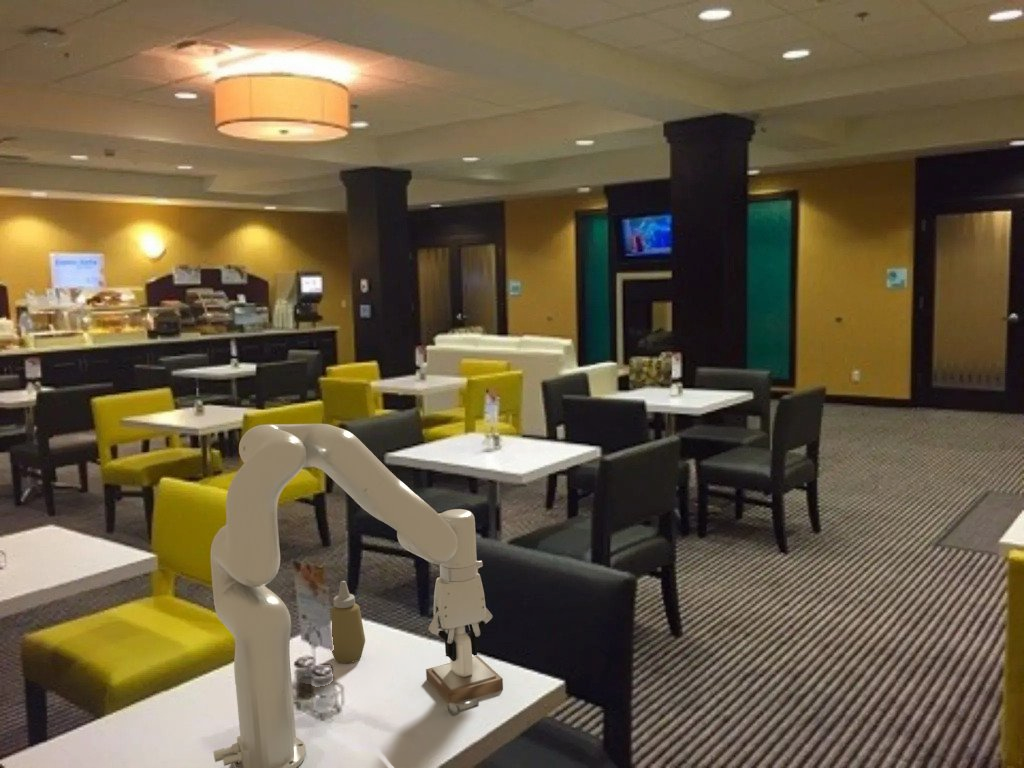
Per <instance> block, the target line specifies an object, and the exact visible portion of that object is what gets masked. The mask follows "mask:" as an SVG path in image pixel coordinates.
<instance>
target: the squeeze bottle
mask: <svg viewBox="0 0 1024 768" xmlns="http://www.w3.org/2000/svg"><path fill="white" fill-rule="evenodd" d="M339 583H340V584H339V589H338V595H336V596H334V597H333V606H332V607H331V608H330V611H329V614H330V613H331V620H332V637H333V645H334V650H333V651H332V652H331V654H332V656H333V658H334V660H335V662H336V663H339V664H350V663H353V662H356V661H359V660H360V659H361V658H362V655H363V651H364V647H365V644H366V636H365V631H364V625H363V619H362V614H361V607H360V605H359V604H357V603H356V596H355V595H354V594H352V593H350V590H349V588H348V585H347V582H346V581H345V580H341V581H340V582H339Z"/></svg>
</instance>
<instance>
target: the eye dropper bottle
mask: <svg viewBox="0 0 1024 768" xmlns="http://www.w3.org/2000/svg"><path fill="white" fill-rule="evenodd" d="M467 634H468V632H466V626H462V627H457V628H455V630H454V637H453V641H454V642H455V643H456V661H452V660H451V659H450V658H449V659H450V663H451V669H452V671H453V673H455V674H456V675H458V676H462V677H467V676H469V675H472V674H473V662H472V657H473V654H472V648H471V640H470V637H469V636H468V635H467Z"/></svg>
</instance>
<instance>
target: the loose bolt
mask: <svg viewBox="0 0 1024 768" xmlns="http://www.w3.org/2000/svg"><path fill="white" fill-rule="evenodd" d="M479 705H480V704H479V700H478V699H477V698H472V699H469V700H466V701H462V702H459V703H455V702H451V703H447V706H446V707H447V711H448V712H449V713H450V715H452V716H457V715H458V714H459V712H463V711H466V710H468V709H471V708H474V707H475V708H476V707H478V706H479Z"/></svg>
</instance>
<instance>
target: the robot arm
mask: <svg viewBox="0 0 1024 768" xmlns="http://www.w3.org/2000/svg"><path fill="white" fill-rule="evenodd" d="M238 453H239V456H240V459H241V460H242V462H243V464H242V465H241V466H240V468H239V469H238V470H237V472H236V473H235V474H234V477H233V478H232V479H231V481H230V484H229V486H228V489H227V493H226V500H225V513H226V523H225V525H223V526H222V527H220V528H219V529H218V531H217V533H216V534H215V535H214V537H213V539H212V543H211V547H210V556H209V557H210V567H211V569H210V571H211V583H212V594H213V595H212V596H213V604H214V605H213V606H214V610H215V613H216V615H217V617H218V618H217V619H218V620H219V621H220V622H221V623H222V624H223V626H225V627H226V629H227V631H229V632H230V633H231V634H232V635H233V639H234V642H235V643H234V645H235V650H234V660H233V661H234V662H233V669H234V684H235V691H236V692H235V693H236V700H237V701H236V703H237V712H238V713H237V714H238V723H239V725H238V726H239V736H237V737H236V742H234V743H231V746H228V747H223V748H219V749H216V750H213V751H212V752H213V759H214V763H218V762H221V761H223V766H225V767H226V766H230V765H232V764H233V768H298V767H299V766H300V765H301V764H302V763H303V762H304V760H305V759H306V755H307V748H306V744H305V742H304V741H303V740H302V739H300V738H299V737H297V733H296V732H297V731H296V721H295V720H296V718H295V708H294V706H295V705H294V695H293V683H292V672H291V670H292V669H291V658H290V656H291V655H290V651H291V650H290V647H291V646H290V644H291V632H292V620H291V619H292V618H291V615H290V611H289V609H288V607H287V606H286V604H285V602H284V601H283V600H282V599H281V598H280V597H279V596H278V594H276V593H275V592H273V591H272V590H271V589H270V588H268V587H267V586H266V585H268V584H270V583H271V582H272V581H273V580H274V579H275V578H276V577H277V575H278V572H279V569H280V566H281V550H280V537H279V536H280V535H279V524H278V523H279V522H278V505H279V504H278V503H279V499H280V496H281V494H282V492H283V490H284V488H285V487H286V486H287V485H288V484H289V483H290V482H291V481H292V480H293V479H294V478H295V477H297V476H298V475H299V473H300V472H301V471H302V469H303V468H304V469H305V468H316V469H319V470H321V471H323V472H324V473H325V474H326V475H327V476H328V477H329V478H330V479H332V481H334V482H335V484H337V485H338V486H339V487H340V488H341V489H342V490H343V491H344V492H345V493H346V494H347V495H349V496H350V498H352V499H353V501H354V502H355V503H356V504H358V505H359V506H360V508H362V509H363V510H364V511H366V513H368V514H369V515H371V516H372V517H374V518H375V519H376V520H378V521H381V522H383V523H384V524H386V525H388V526H389V527H391V528H392V529H394V530H395V531H396V537H397V541H398V543H399V544H400V546H401V547H402V548H403V549H405V550H406V551H408V552H410V553H412V554H413V555H415V556H418V557H419V558H422V559H424V560H425V561H426V562H428V563H431V564H435V565H436V564H437V565H439V577H437V578H436V580H435V585H434V594H433V618H432V620H431V622H430V624H429V626H428V631H429V633H430V634H433V635H436V636H437V637H440V638H441V639H442V640H444V645H445V646H444V647H445V648H444V649H445V655H446V657H448V658H449V659H451V660H452V661H456V643H455V642H454V641H453V637H454V630H455V628H457V627H462V626H465V627H466V626H468V630H469V631H468V632H467V635H468V636H469V637H470V640H471V648H472V656H473V657H474V656H478V650H479V636H481V632H482V630H483V629H484V627H485V626H486V624H487V623H488V622H490V621H491V620H492V619H493V617H494V616H493V614H492V612H491V611H489V609H488V608H487V607H486V599H485V592H484V591H485V590H484V587H483V583H482V578H481V574H480V573H479V569H480V568H482V567H483V566H484V565H483V564H484V563H483V561H482V560H478V559H477V540H476V539H477V538H476V521H475V519H476V518H475V516H474V513H473V512H472V511H470V510H467V509H462V508H458V509H457V508H454V509H447V510H445V511H443V512H440V513H438V512H437V511H436V510H435V509H434V508H433V507H431V506H430V504H428V503H427V502H426V501H424V500H423V499H422V497H420V496H419V495H418V494H416V493H415V492H414V491H413V490H412V489H410V487H408V485H406V484H405V483H404V482H403V481H401V480H400V479H399V478H398V477H396V475H395V474H394V473H392V471H391V470H389V469H388V467H386V466H385V464H383V463H382V461H380V459H378V457H377V456H376V455H374V453H373V452H372V450H370V449H369V448H368V447H367V446H366V445H365V444H364V443H363V442H362V441H361V440H360V439H359V438H358V437H357V436H356V435H355V434H354V433H352V432H351V431H349V430H346V429H344V428H341V427H339V426H338V427H337V426H334V425H333V424H332V425H331V424H327V423H292V424H291V423H289V424H288V423H287V424H285V423H284V424H283V423H280V424H278V423H276V424H275V423H269V424H259V425H257V426H253V427H252V428H250V429H248V430H247V431H246V432H245V433H244V434H243V436H242V437H241V439H240V441H239V445H238ZM439 626H440V627H441V628H439Z"/></svg>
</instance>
